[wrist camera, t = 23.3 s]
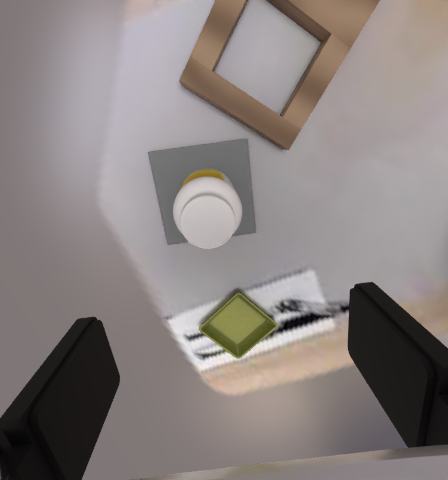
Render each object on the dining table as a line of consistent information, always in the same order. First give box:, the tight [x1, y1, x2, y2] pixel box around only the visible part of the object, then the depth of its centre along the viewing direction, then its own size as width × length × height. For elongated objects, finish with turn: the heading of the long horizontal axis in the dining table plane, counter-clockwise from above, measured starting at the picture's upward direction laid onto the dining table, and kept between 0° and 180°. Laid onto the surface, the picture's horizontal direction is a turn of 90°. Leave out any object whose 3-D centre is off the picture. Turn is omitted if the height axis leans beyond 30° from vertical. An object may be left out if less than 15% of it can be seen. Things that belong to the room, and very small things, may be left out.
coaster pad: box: [148, 139, 256, 245], centre depth 35 cm, size 12×12×1 cm
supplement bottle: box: [173, 168, 242, 249], centre depth 29 cm, size 7×7×13 cm
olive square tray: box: [199, 293, 278, 358], centre depth 42 cm, size 9×9×2 cm
